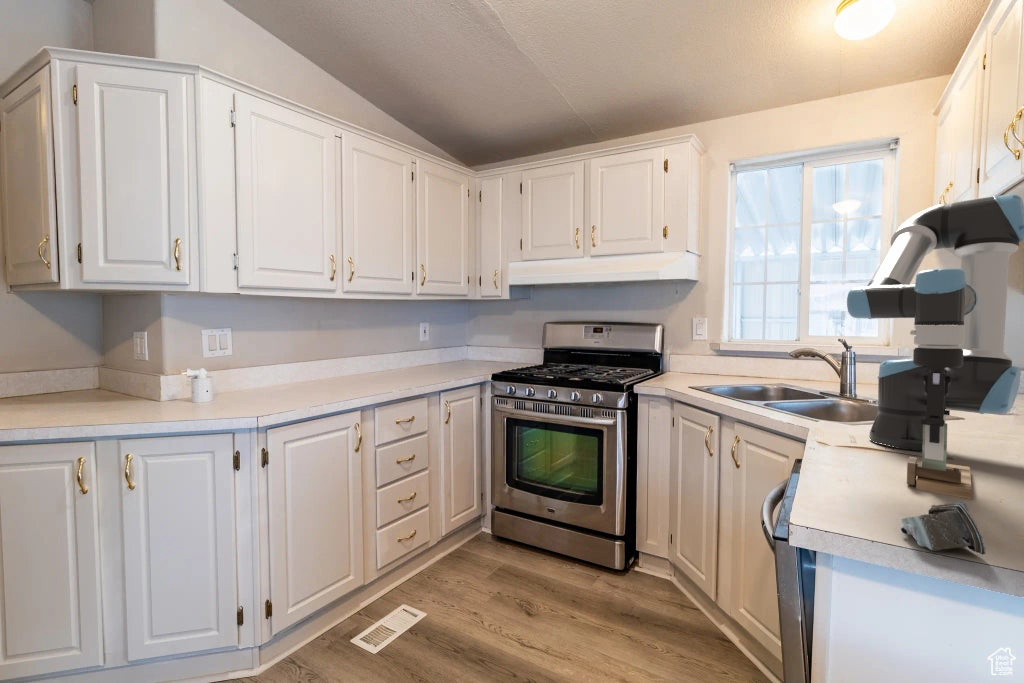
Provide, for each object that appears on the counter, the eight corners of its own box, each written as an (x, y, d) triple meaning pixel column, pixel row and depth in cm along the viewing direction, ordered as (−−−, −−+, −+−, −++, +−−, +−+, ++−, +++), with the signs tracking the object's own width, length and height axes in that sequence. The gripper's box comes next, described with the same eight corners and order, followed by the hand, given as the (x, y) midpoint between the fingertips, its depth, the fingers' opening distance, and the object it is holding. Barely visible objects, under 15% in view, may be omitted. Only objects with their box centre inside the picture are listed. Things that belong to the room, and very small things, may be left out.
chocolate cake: (882, 517, 82) (895, 489, 73) (929, 509, 80) (948, 479, 72) (917, 577, 75) (936, 554, 67) (970, 569, 73) (995, 544, 65)
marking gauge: (909, 477, 102) (910, 418, 102) (960, 485, 97) (962, 423, 96) (906, 484, 98) (908, 422, 97) (960, 493, 92) (962, 428, 92)
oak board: (921, 468, 111) (921, 459, 111) (969, 475, 106) (969, 466, 106) (916, 490, 96) (916, 480, 96) (971, 500, 91) (971, 489, 91)
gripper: (917, 344, 108) (915, 438, 109) (909, 348, 90) (906, 461, 90) (963, 345, 103) (960, 443, 104) (964, 350, 85) (960, 469, 85)
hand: (935, 452), depth 97 cm, fingers open, 13 cm apart
